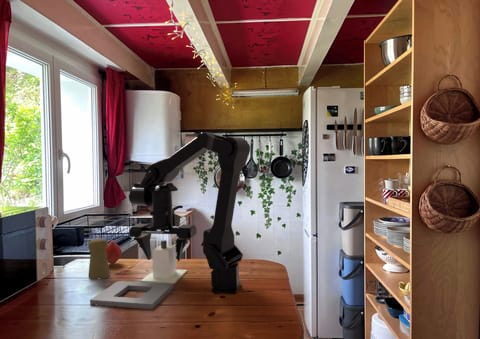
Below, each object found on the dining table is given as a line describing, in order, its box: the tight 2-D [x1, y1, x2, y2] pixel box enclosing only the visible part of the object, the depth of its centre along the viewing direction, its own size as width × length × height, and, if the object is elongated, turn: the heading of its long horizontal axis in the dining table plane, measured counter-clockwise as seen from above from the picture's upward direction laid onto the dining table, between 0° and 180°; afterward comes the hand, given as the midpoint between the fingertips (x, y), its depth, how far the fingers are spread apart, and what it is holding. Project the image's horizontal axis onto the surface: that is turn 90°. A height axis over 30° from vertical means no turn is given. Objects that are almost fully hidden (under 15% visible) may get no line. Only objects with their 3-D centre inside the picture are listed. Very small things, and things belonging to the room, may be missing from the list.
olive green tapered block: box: [87, 237, 111, 280], centre depth 99 cm, size 6×6×11 cm
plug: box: [151, 240, 177, 279], centre depth 97 cm, size 5×5×10 cm
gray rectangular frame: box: [89, 280, 174, 310], centre depth 84 cm, size 16×12×1 cm
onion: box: [106, 239, 123, 265], centre depth 109 cm, size 6×6×8 cm
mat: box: [140, 268, 188, 285], centre depth 97 cm, size 10×10×1 cm
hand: (164, 260), depth 97 cm, fingers open, 9 cm apart
